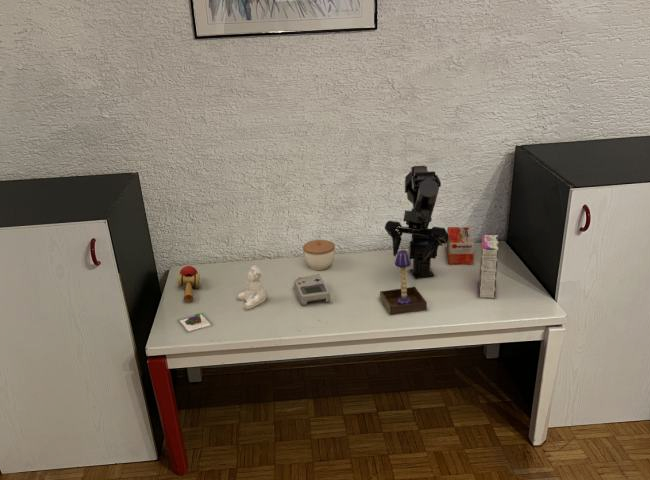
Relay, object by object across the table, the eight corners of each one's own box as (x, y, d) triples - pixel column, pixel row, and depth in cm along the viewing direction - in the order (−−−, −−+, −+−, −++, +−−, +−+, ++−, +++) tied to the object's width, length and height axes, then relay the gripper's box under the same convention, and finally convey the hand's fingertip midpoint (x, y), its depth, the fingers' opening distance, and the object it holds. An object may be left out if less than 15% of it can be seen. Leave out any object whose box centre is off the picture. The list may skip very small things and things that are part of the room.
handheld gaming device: (320, 283, 226) (319, 273, 224) (330, 303, 214) (330, 291, 212) (293, 288, 225) (292, 277, 223) (302, 307, 212) (301, 296, 210)
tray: (379, 298, 214) (379, 291, 213) (414, 294, 216) (414, 286, 215) (390, 315, 205) (390, 307, 204) (426, 310, 206) (426, 302, 205)
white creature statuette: (237, 298, 220) (232, 263, 214) (262, 292, 223) (259, 258, 216) (246, 310, 212) (242, 274, 206) (272, 304, 215) (269, 268, 209)
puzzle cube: (198, 318, 209) (197, 311, 208) (201, 322, 207) (200, 315, 206) (184, 322, 207) (183, 315, 206) (188, 325, 205) (186, 318, 204)
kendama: (204, 304, 220) (203, 274, 234) (198, 288, 216) (197, 258, 230) (181, 310, 220) (180, 280, 234) (174, 294, 216) (174, 264, 230)
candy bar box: (478, 282, 221) (481, 234, 213) (494, 283, 220) (498, 234, 212) (478, 298, 211) (481, 248, 203) (495, 299, 210) (499, 248, 202)
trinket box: (316, 258, 244) (315, 233, 240) (341, 264, 239) (340, 238, 234) (298, 269, 237) (296, 243, 232) (323, 275, 231) (322, 249, 227)
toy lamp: (400, 307, 208) (400, 256, 199) (392, 301, 211) (391, 250, 203) (414, 303, 210) (414, 252, 201) (405, 297, 213) (405, 247, 205)
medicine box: (473, 264, 233) (474, 242, 229) (448, 265, 234) (449, 242, 230) (469, 247, 246) (470, 226, 242) (445, 247, 247) (446, 226, 243)
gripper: (387, 194, 206) (371, 242, 204) (447, 201, 198) (432, 251, 195) (397, 211, 216) (382, 257, 213) (454, 219, 208) (440, 266, 205)
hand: (408, 258), depth 207 cm, fingers open, 9 cm apart
